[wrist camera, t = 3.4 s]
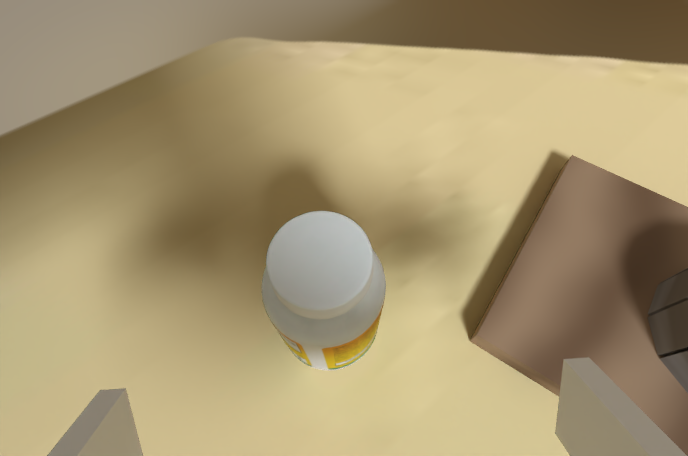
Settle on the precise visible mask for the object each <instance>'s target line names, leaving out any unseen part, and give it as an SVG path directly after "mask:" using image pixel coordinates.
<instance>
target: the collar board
mask: <svg viewBox="0 0 688 456" xmlns="http://www.w3.org/2000/svg"><path fill="white" fill-rule="evenodd" d="M470 341H471V342H472V343H474V344H476V345H477V346H479V347H480V348H482V349H484V350H485V351H487V352H488V353H490V354H492V355H493V356H495V357H496V358H498V359H500V360H501V361H503V362H505V363H506V364H508V365H509V366H511V367H513V368H514V369H516V370H517V371H519V372H521V373H522V374H524V375H525V376H527V377H529V378H530V379H532V380H534V381H535V382H537V383H538V384H540V385H542V386H543V387H545V388H546V389H548V390H550V391H551V392H553V393H554V394H556V395H558V396H560V387H561V378H562V369H563V360H564V359H573V358H587V357H589V358H590V359H591V360H592V361H593V362H594V363H595V364H596V365H597V366H598V367H599V368H600V369H601V370H602V371H603V372H604V373H605V374H606V375H607V376H608V377H609V378H610V379H611V380H612V381H613V382H614V383H615V384H616V385H617V386H618V387H619V388H620V389H621V390H622V391H623V392H624V393H625V394H626V395H627V396H628V397H629V398H630V399H631V400H632V401H633V402H634V403H635V404H636V405H637V406H638V407H639V408H640V409H641V410H642V411H643V412H644V413H645V414H646V415H647V416H648V417H649V418H650V419H651V420H652V421H653V422H654V423H655V424H656V425H657V426H658V427H659V428H660V429H661V430H662V431H663V432H664V433H665V434H666V435H667V436H668V437H669V438H670V439H671V440H672V441H673V442H674V443H675V444H676V445H677V446H678V447H679V448H680V449H681V450H682V451H683V452H684V453H685V454H686V455H687V456H688V207H686V206H684V205H682V204H680V203H677V202H675V201H673V200H671V199H669V198H666V197H664V196H662V195H660V194H657V193H655V192H653V191H651V190H649V189H646V188H644V187H642V186H640V185H637V184H635V183H633V182H631V181H629V180H626V179H624V178H622V177H620V176H617V175H615V174H613V173H611V172H608V171H606V170H604V169H602V168H600V167H597V166H595V165H593V164H591V163H588V162H586V161H584V160H582V159H580V158H577V157H575V156H573V155H572V156H571V157H570V159H569V160H568V161H567V163H566V164H565V165H564V167H563V168H562V170H561V171H560V173H559V175H558V177H557V179H556V181H555V183H554V184H553V186H552V188H551V190H550V192H549V194H548V196H547V198H546V199H545V201H544V203H543V205H542V207H541V209H540V211H539V213H538V214H537V216H536V218H535V220H534V222H533V224H532V226H531V228H530V229H529V231H528V233H527V235H526V237H525V239H524V241H523V243H522V244H521V246H520V248H519V250H518V252H517V254H516V256H515V257H514V259H513V261H512V263H511V265H510V267H509V269H508V271H507V272H506V274H505V276H504V278H503V280H502V282H501V284H500V286H499V287H498V289H497V291H496V293H495V295H494V297H493V299H492V301H491V302H490V304H489V306H488V308H487V310H486V312H485V314H484V315H483V317H482V319H481V321H480V323H479V325H478V327H477V329H476V330H475V332H474V334H473V336H472V338H471V340H470Z"/></svg>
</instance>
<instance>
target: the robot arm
mask: <svg viewBox="0 0 688 456" xmlns="http://www.w3.org/2000/svg"><path fill="white" fill-rule="evenodd" d="M555 434H556V435H557V437H558V438H559V440H560V441H561V443H562V444H563V446H564V447H565V449H566V450H567V452H568V453H569V455H570V456H687V455H686V454H685V453H684V452H683V451H682V450H681V449H680V448H679V447H678V446H677V445H676V444H675V443H674V442H673V441H672V440H671V439H670V438H669V437H668V436H667V435H666V434H665V433H664V432H663V431H662V430H661V429H660V428H659V427H658V426H657V425H656V424H655V423H654V422H653V421H652V420H651V419H650V418H649V417H648V416H647V415H646V414H645V413H644V412H643V411H642V410H641V409H640V408H639V407H638V406H637V405H636V404H635V403H634V402H633V401H632V400H631V399H630V398H629V397H628V396H627V395H626V394H625V393H624V392H623V391H622V390H621V389H620V388H619V387H618V386H617V385H616V384H615V383H614V382H613V381H612V380H611V379H610V378H609V377H608V376H607V375H606V374H605V373H604V372H603V371H602V370H601V369H600V368H599V367H598V366H597V365H596V364H595V363H594V362H593V361H592V360H591V359H590V358H589V357H587V358H573V359H564V360H563V369H562V378H561V387H560V396H559V404H558V413H557V422H556V431H555ZM47 456H143V453H142V449H141V445H140V441H139V438H138V434H137V430H136V426H135V422H134V418H133V414H132V411H131V407H130V403H129V399H128V395H127V391H126V388H125V389H110V390H100V391H99V392H98V393H97V395H96V396H95V397H94V398H93V399H92V401H91V402H90V403H89V404H88V406H87V407H86V408H85V409H84V411H83V412H82V413H81V414H80V416H79V417H78V418H77V419H76V421H75V422H74V423H73V424H72V426H71V427H70V428H69V429H68V430H67V432H66V433H65V434H64V435H63V437H62V438H61V439H60V440H59V442H58V443H57V444H56V445H55V447H54V448H53V449H52V450H51V452H50V453H49V454H48V455H47Z"/></svg>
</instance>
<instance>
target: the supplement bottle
mask: <svg viewBox="0 0 688 456" xmlns="http://www.w3.org/2000/svg"><path fill="white" fill-rule="evenodd" d="M385 290H386V281H385V274H384V270H383V267H382V264H381V262H380V260H379V258H378V256H377V255H376V253H375V252H374V250H373V249H372V247H371V244H370V241H369V239H368V237H367V235H366V234H365V232H364V231H363V229H362V228H361V227H360V226H359V225H358V224H357V223H355V222H354V221H353V220H351V219H350V218H348V217H346V216H344V215H342V214H339V213H335V212H330V211H313V212H308V213H304V214H301V215H299V216H297V217H295V218H293V219H291V220H289V221H288V222H287V223H285V224H284V225H283V226H282V227H281V228H280V229H279V230H278V231H277V233H276V234H275V236H274V237H273V239H272V241H271V243H270V245H269V248H268V251H267V257H266V268H265V270H264V274H263V279H262V298H263V303H264V307H265V310H266V312H267V314H268V316H269V318H270V320H271V321H272V323H273V325H274V326H275V328H276V329H277V331H278V332H279V334H280V335H281V337H282V338H283V340H284V341H285V343H286V345H287V346H288V347H289V349H290V350H291V351H292V353H293V354H294V355H295V356H296V357H297V358H298V359H299V360H300V361H302V362H303V363H304V364H306V365H308V366H310V367H312V368H316V369H320V370H338V369H342V368H345V367H347V366H349V365H351V364H353V363H355V362H356V361H358V360H359V359H360V358H361V357H362V356H364V355H365V353H366V352H367V351H368V350H369V348H370V347H371V345H372V343H373V341H374V339H375V336H376V333H377V329H378V324H379V319H380V316H381V312H382V308H383V303H384V299H385Z"/></svg>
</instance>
